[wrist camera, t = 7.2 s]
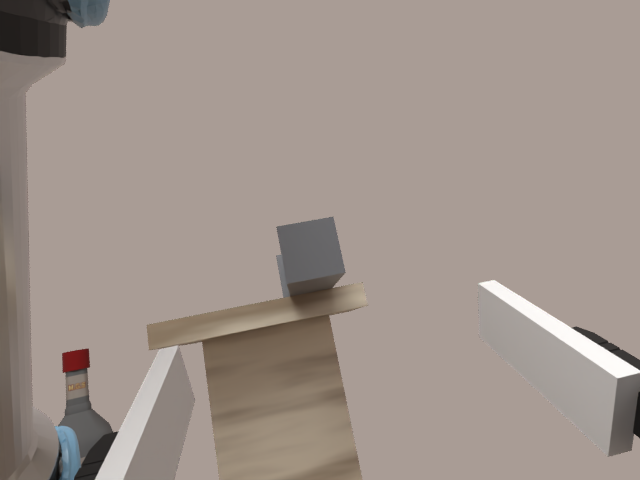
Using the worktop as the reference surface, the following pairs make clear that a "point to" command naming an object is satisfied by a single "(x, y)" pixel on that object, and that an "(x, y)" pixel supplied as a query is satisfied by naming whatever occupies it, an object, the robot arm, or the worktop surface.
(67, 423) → the liquor
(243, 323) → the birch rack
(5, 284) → the robot arm
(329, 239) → the grey stepped block
